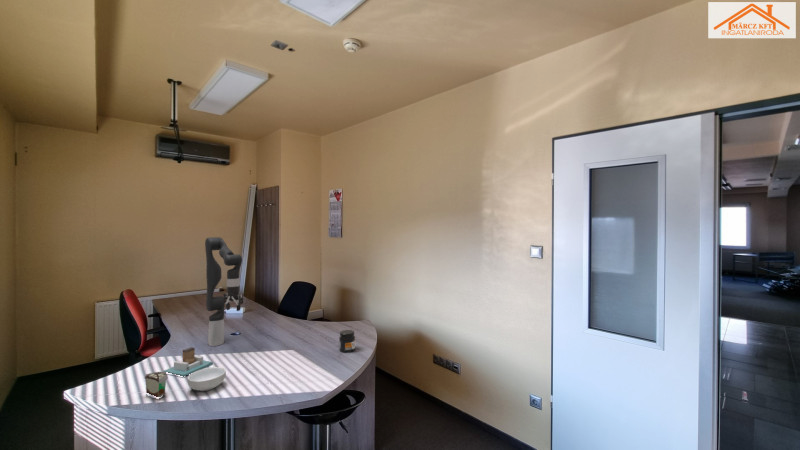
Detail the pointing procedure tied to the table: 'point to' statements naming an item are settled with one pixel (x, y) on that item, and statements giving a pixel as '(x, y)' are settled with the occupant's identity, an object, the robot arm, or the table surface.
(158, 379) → the food container
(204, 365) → the dish
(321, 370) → the table surface
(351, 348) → the supplement container
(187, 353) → the brown upright block
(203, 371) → the cereal bowl
